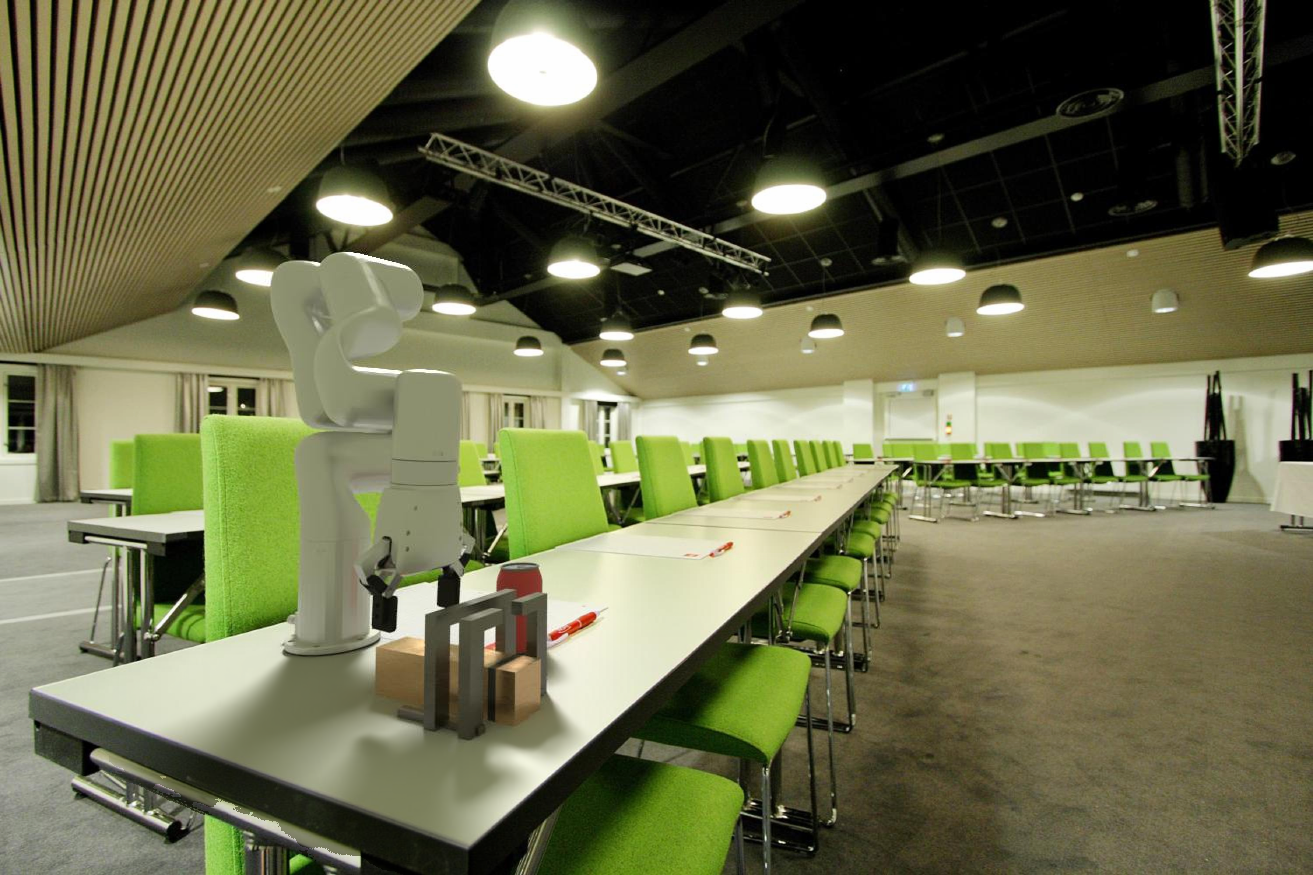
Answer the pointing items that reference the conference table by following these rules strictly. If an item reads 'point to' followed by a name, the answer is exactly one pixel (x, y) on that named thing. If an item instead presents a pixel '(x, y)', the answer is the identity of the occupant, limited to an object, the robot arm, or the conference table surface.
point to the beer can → (520, 591)
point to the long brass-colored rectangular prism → (505, 679)
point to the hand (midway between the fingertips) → (417, 618)
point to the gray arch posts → (474, 656)
